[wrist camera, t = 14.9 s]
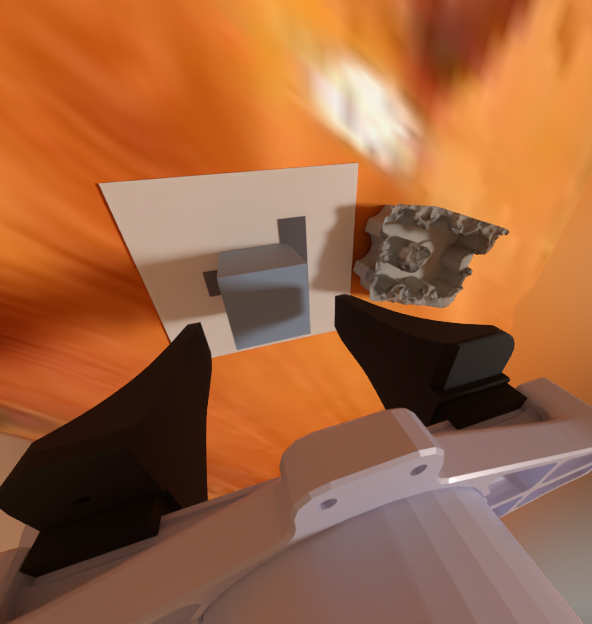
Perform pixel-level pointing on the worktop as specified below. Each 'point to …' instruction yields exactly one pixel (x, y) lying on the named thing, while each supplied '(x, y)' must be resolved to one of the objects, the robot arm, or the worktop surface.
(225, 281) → the cube
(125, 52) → the worktop surface
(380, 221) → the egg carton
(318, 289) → the letter mat
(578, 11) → the worktop surface
